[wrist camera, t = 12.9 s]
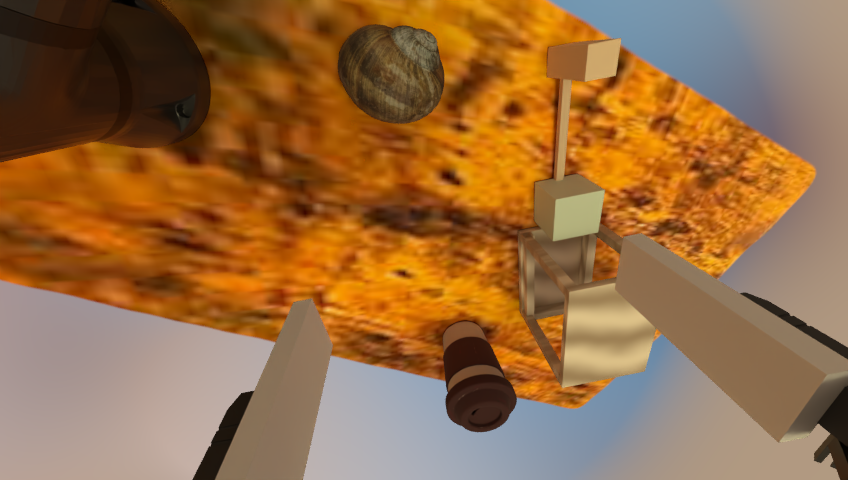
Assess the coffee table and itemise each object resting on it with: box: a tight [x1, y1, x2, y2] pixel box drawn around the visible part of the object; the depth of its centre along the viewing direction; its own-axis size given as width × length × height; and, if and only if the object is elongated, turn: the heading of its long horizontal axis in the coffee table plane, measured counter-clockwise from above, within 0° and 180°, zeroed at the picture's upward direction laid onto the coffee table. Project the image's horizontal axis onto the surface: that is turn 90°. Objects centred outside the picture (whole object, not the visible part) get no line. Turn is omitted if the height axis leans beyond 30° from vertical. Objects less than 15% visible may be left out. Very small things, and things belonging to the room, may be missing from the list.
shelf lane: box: [518, 223, 656, 388], centre depth 42 cm, size 16×11×15 cm
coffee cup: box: [443, 321, 517, 432], centre depth 47 cm, size 10×10×15 cm
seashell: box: [338, 25, 444, 123], centre depth 30 cm, size 11×9×8 cm
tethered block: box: [534, 38, 621, 241], centre depth 36 cm, size 22×6×8 cm, turn 10°
